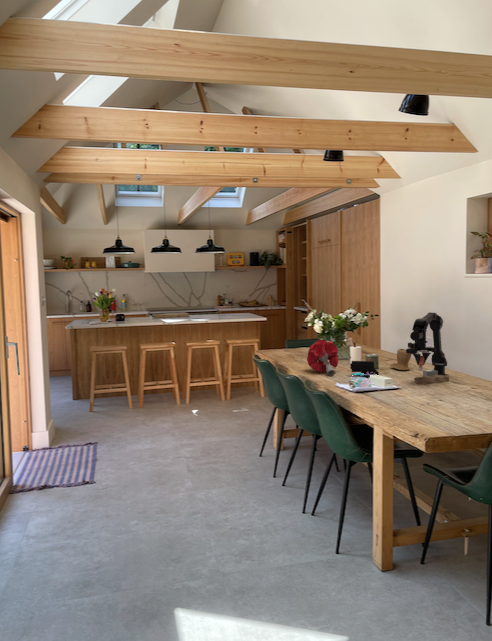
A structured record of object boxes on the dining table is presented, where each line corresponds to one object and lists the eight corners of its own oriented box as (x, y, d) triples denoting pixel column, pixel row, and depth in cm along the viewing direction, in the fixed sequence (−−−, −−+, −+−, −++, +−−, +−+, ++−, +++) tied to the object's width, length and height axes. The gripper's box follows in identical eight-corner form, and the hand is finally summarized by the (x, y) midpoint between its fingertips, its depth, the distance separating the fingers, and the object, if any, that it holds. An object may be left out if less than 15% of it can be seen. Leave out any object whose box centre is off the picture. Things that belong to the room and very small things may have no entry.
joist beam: (440, 379, 327) (441, 374, 326) (448, 381, 320) (448, 376, 320) (414, 382, 319) (414, 377, 319) (422, 384, 313) (422, 379, 312)
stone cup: (414, 370, 358) (414, 349, 357) (399, 371, 356) (399, 350, 354) (403, 367, 373) (403, 347, 371) (388, 368, 370) (388, 347, 369)
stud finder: (433, 377, 334) (433, 369, 334) (437, 378, 330) (437, 370, 330) (422, 378, 332) (422, 370, 332) (427, 379, 328) (427, 371, 328)
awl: (421, 369, 319) (421, 355, 319) (425, 370, 316) (425, 356, 315) (416, 370, 318) (416, 355, 317) (420, 371, 314) (420, 356, 313)
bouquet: (345, 383, 353) (331, 356, 377) (349, 356, 339) (334, 330, 364) (315, 387, 349) (303, 360, 374) (318, 360, 336) (305, 334, 360)
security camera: (378, 377, 337) (378, 362, 337) (350, 376, 341) (350, 362, 340) (378, 375, 344) (378, 360, 343) (350, 374, 348) (350, 360, 347)
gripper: (424, 337, 326) (424, 361, 327) (400, 338, 319) (400, 363, 321) (436, 338, 316) (436, 363, 317) (412, 340, 309) (411, 365, 310)
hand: (420, 364), depth 316 cm, fingers closed on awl, 4 cm apart
